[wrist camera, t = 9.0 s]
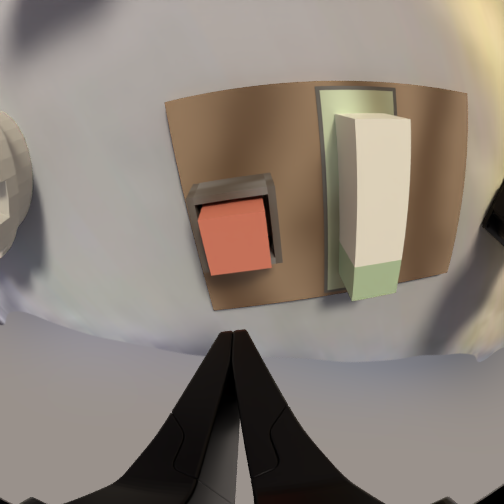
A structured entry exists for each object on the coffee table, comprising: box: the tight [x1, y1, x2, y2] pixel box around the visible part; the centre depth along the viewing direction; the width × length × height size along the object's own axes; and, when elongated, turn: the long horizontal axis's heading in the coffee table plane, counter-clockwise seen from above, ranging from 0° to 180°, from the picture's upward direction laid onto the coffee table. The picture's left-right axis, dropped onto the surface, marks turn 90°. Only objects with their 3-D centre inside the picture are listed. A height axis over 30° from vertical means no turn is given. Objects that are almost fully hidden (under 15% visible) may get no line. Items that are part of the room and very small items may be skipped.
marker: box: [335, 113, 411, 301], centre depth 16 cm, size 11×3×3 cm, turn 8°
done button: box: [198, 195, 272, 276], centre depth 15 cm, size 3×3×2 cm
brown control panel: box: [165, 81, 468, 310], centre depth 17 cm, size 20×15×3 cm
